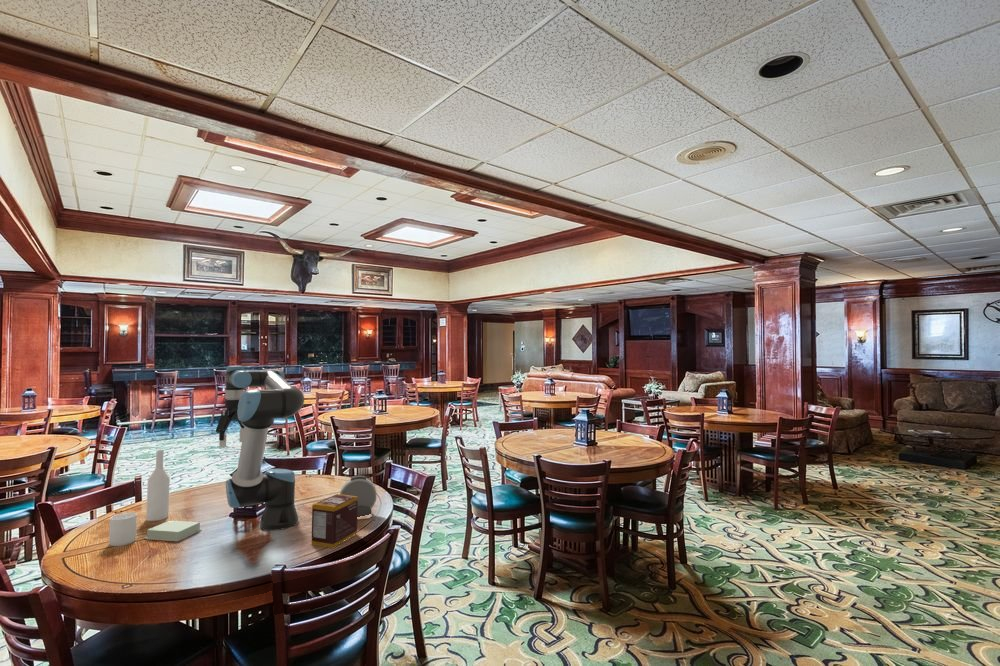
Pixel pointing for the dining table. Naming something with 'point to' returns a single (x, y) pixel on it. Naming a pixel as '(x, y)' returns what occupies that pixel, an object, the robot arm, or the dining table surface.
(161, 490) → the bottle
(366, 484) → the alarm clock
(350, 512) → the supplement box
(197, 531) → the mat
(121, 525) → the cup
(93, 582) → the dining table surface
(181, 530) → the board
